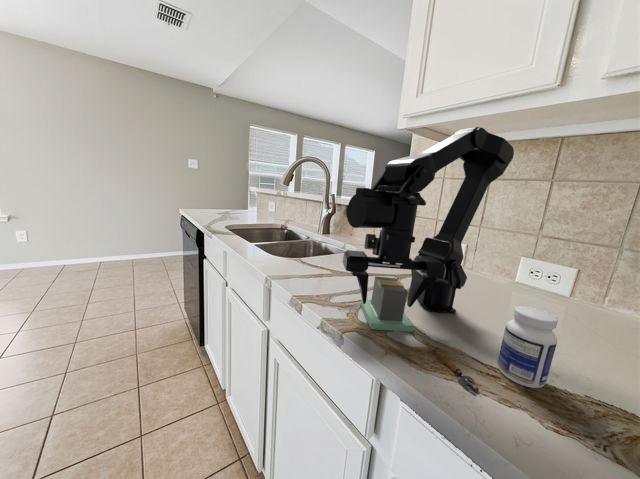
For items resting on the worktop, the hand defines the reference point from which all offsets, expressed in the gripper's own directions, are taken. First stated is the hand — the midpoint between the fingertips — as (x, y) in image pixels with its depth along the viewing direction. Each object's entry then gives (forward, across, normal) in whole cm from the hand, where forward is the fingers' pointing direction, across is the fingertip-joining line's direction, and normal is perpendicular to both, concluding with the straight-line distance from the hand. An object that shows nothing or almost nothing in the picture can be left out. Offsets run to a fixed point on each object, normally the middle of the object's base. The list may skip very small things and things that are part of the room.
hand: (386, 304), depth 51 cm
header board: (+3, 0, 0) cm, 3 cm away
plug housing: (+1, 0, 0) cm, 1 cm away
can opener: (+3, -6, +15) cm, 16 cm away
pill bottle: (+3, -16, +15) cm, 22 cm away
